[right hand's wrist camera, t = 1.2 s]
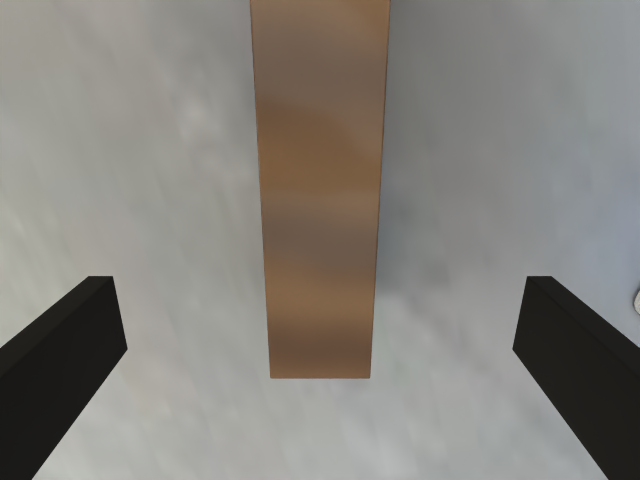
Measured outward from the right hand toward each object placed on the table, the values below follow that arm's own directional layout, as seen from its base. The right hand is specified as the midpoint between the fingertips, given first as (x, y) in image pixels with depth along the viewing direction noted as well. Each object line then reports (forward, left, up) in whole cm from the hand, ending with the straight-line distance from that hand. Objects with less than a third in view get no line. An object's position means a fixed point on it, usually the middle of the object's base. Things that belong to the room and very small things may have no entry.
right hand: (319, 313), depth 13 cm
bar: (-6, +18, -14) cm, 24 cm away
